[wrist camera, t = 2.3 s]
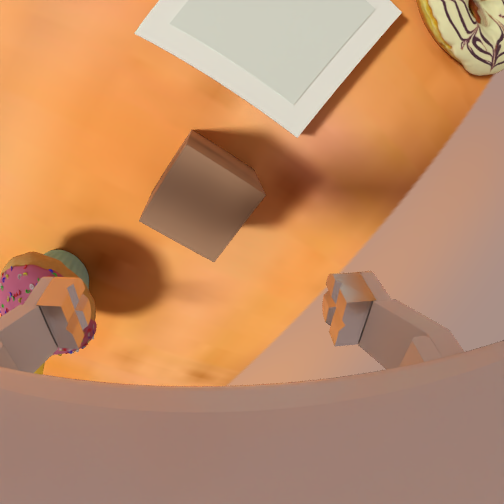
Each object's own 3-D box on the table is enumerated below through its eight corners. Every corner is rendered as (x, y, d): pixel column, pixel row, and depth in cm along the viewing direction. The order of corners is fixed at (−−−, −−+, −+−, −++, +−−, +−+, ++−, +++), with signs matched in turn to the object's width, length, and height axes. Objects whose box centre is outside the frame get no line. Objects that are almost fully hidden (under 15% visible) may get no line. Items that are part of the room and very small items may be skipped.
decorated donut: (466, 95, 20) (496, 103, 16) (381, -2, 15) (409, -11, 12) (508, 29, 16) (537, 31, 13) (437, -62, 12) (465, -71, 8)
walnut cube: (212, 224, 23) (214, 262, 19) (152, 190, 21) (138, 221, 17) (254, 169, 21) (265, 195, 17) (192, 129, 19) (186, 144, 15)
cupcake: (128, 277, 24) (94, 404, 14) (77, 326, 26) (42, 435, 16) (49, 207, 20) (-37, 309, 10) (9, 270, 22) (-54, 368, 12)
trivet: (291, 133, 20) (297, 137, 19) (139, 36, 16) (133, 33, 14) (391, 14, 16) (402, 12, 15) (253, -86, 11) (257, -96, 10)
